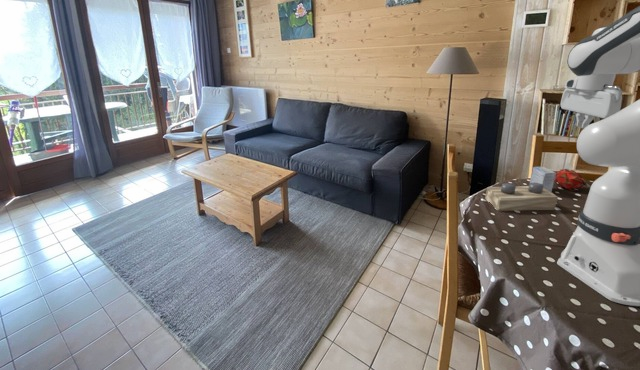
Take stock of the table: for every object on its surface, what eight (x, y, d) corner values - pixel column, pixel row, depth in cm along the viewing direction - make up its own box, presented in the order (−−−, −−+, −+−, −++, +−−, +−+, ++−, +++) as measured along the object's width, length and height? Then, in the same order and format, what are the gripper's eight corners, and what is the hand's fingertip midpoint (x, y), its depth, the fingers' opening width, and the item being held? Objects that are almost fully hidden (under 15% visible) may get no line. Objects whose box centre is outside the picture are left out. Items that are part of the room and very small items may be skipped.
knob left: (514, 205, 117) (518, 187, 114) (502, 205, 117) (506, 187, 114) (507, 200, 121) (511, 183, 118) (496, 200, 121) (499, 183, 118)
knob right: (541, 205, 117) (546, 187, 114) (529, 205, 117) (534, 187, 114) (534, 200, 121) (538, 182, 118) (522, 200, 121) (526, 182, 118)
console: (554, 209, 114) (558, 196, 112) (498, 210, 115) (500, 197, 113) (537, 197, 124) (540, 185, 122) (485, 198, 124) (487, 187, 122)
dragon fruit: (550, 185, 138) (579, 199, 129) (544, 178, 133) (574, 192, 124) (564, 169, 137) (594, 182, 127) (559, 161, 132) (590, 174, 122)
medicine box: (551, 193, 127) (556, 173, 124) (539, 193, 127) (545, 173, 124) (539, 185, 134) (544, 166, 131) (528, 185, 135) (533, 166, 131)
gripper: (634, 86, 90) (618, 134, 95) (580, 80, 109) (569, 121, 114) (612, 86, 90) (597, 135, 96) (562, 81, 109) (551, 121, 114)
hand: (581, 127), depth 105 cm, fingers closed
